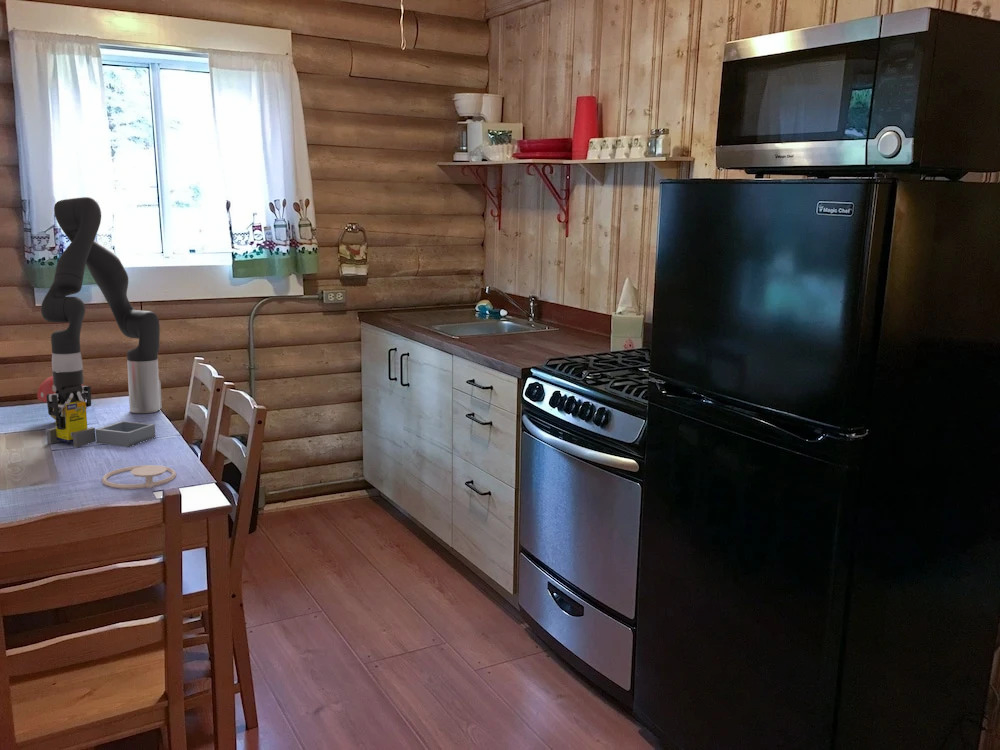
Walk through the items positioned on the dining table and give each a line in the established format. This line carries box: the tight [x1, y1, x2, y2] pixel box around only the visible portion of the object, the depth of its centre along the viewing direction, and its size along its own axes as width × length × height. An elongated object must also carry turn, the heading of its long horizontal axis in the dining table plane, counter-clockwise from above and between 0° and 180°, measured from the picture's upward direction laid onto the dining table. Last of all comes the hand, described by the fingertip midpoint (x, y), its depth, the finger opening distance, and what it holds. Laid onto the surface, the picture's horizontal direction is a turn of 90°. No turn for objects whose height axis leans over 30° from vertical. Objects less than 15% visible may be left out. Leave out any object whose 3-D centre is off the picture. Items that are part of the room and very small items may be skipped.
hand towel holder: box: [101, 464, 177, 490], centre depth 202 cm, size 17×4×21 cm
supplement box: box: [54, 400, 88, 444], centre depth 232 cm, size 6×6×11 cm
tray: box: [95, 420, 156, 448], centre depth 236 cm, size 11×11×4 cm
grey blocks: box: [46, 426, 96, 448], centre depth 232 cm, size 7×10×4 cm
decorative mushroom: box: [36, 375, 84, 420], centre depth 253 cm, size 13×13×15 cm
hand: (71, 425), depth 232 cm, fingers closed on supplement box, 7 cm apart
